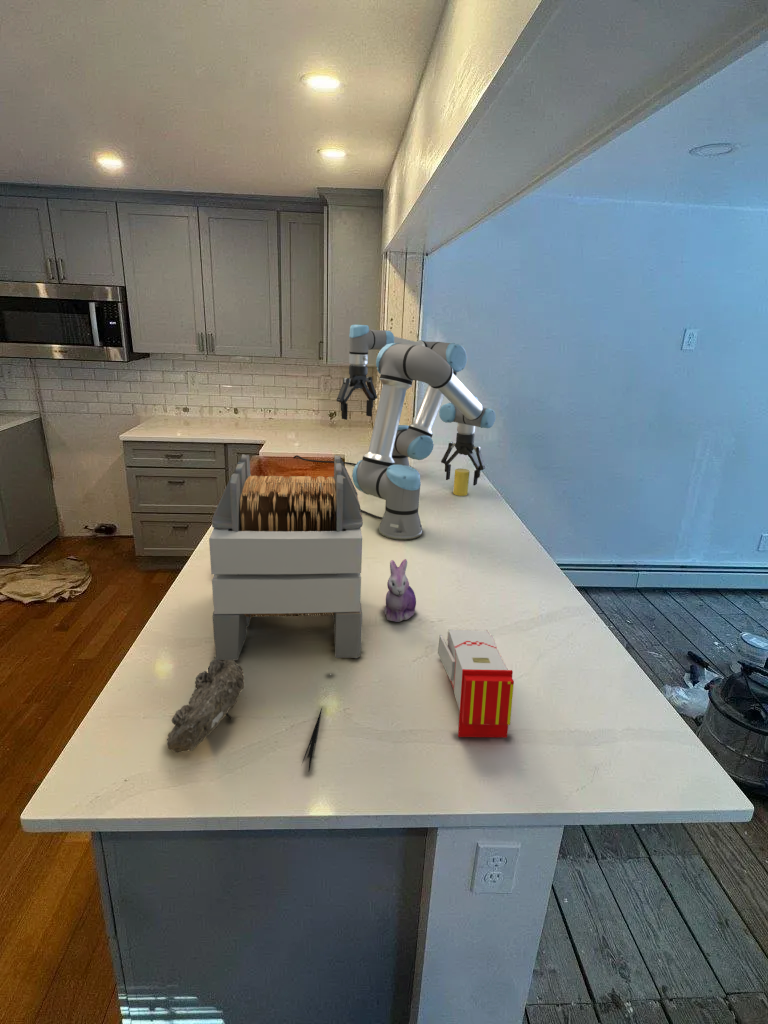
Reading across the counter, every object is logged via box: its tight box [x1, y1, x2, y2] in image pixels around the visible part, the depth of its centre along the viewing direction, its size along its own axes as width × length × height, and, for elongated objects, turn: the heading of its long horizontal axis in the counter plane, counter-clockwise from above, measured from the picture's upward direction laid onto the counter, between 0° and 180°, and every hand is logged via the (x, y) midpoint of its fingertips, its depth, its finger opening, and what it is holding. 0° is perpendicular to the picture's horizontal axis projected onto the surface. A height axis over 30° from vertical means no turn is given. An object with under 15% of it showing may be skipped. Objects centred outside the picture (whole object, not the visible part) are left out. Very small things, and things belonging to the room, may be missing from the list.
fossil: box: [166, 659, 245, 754], centre depth 106 cm, size 22×10×15 cm
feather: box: [301, 673, 332, 771], centre depth 108 cm, size 2×28×2 cm
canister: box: [452, 468, 470, 497], centre depth 245 cm, size 6×6×10 cm
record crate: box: [208, 453, 364, 661], centre depth 135 cm, size 34×33×41 cm
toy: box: [437, 628, 515, 738], centre depth 117 cm, size 12×13×30 cm
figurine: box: [384, 558, 417, 623], centre depth 145 cm, size 9×10×15 cm
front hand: (461, 482), depth 245 cm, fingers open, 12 cm apart
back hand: (356, 417), depth 235 cm, fingers open, 13 cm apart
